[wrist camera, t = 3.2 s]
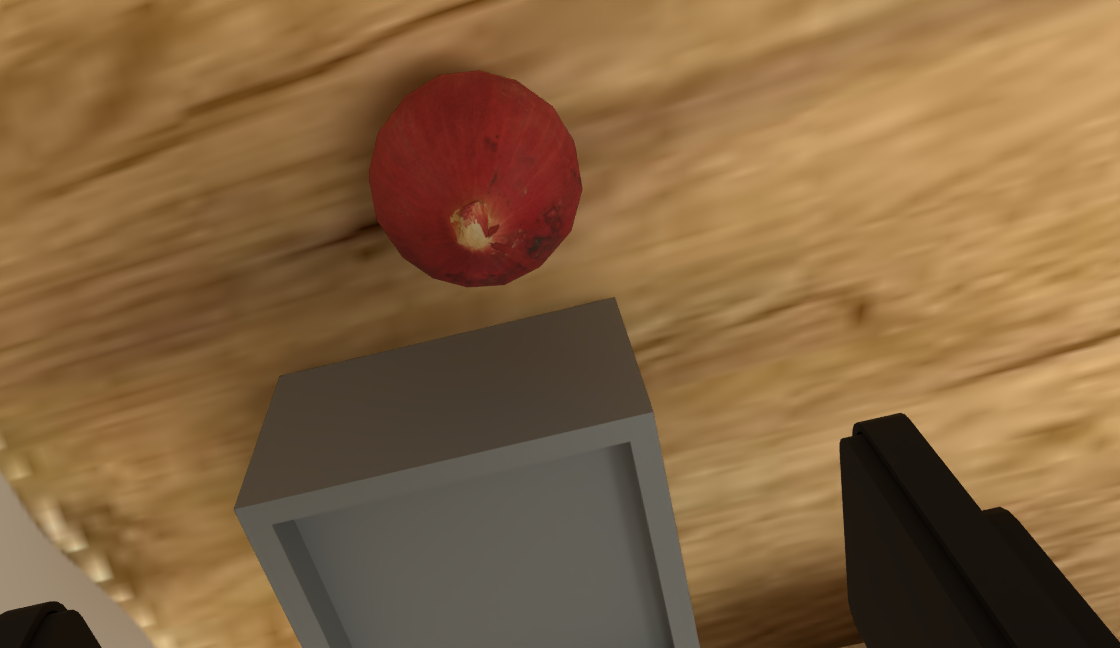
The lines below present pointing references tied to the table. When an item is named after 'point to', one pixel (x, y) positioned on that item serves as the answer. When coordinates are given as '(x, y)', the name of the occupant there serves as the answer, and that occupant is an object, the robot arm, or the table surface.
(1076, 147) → the table surface
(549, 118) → the onion
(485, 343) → the grey hollow box
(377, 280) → the table surface
